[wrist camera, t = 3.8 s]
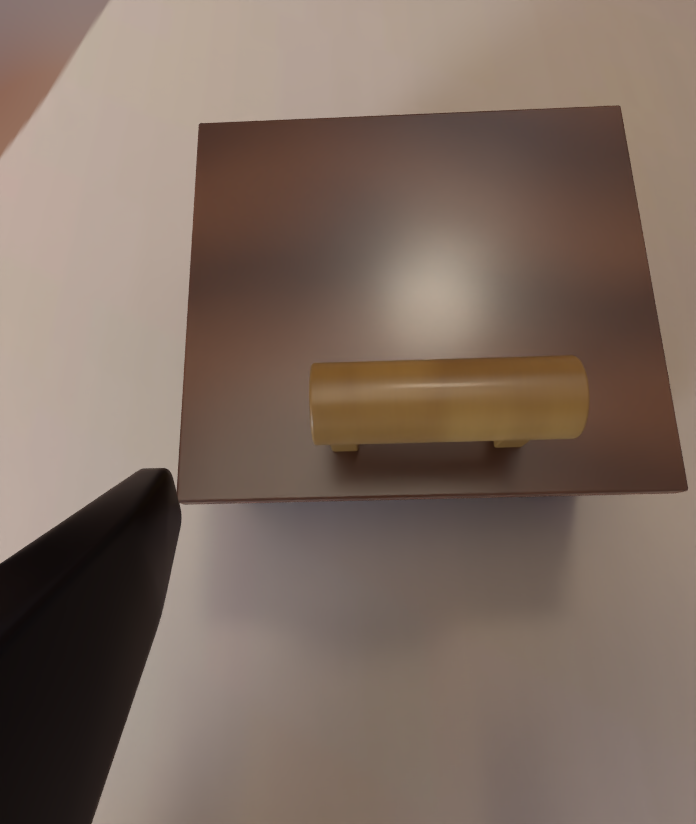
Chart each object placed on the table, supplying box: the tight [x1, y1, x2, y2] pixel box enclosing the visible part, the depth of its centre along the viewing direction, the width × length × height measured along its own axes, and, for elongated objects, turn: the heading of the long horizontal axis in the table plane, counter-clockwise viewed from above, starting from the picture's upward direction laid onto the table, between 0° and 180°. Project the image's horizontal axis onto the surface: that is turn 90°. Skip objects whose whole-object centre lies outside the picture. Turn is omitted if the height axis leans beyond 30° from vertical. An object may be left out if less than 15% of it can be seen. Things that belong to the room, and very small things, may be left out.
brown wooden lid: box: [177, 106, 688, 505], centre depth 13 cm, size 11×12×5 cm
